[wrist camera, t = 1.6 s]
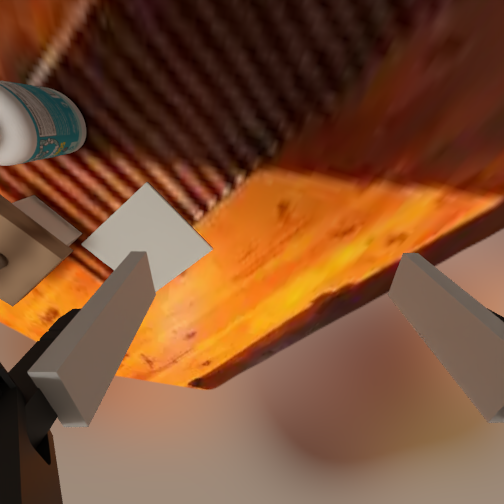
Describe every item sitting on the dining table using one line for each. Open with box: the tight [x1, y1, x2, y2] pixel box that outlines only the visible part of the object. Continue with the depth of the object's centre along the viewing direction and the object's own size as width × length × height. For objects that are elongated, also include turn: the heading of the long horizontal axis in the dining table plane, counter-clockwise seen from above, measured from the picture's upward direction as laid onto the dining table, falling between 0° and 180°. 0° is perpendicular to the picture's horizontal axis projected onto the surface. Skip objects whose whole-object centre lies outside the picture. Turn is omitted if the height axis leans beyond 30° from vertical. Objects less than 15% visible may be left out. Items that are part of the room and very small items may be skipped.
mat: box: [81, 182, 213, 292], centre depth 40 cm, size 14×16×1 cm
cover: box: [0, 195, 74, 306], centre depth 33 cm, size 10×13×3 cm
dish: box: [12, 195, 82, 247], centre depth 37 cm, size 8×11×5 cm
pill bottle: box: [0, 81, 86, 166], centre depth 26 cm, size 8×7×14 cm
